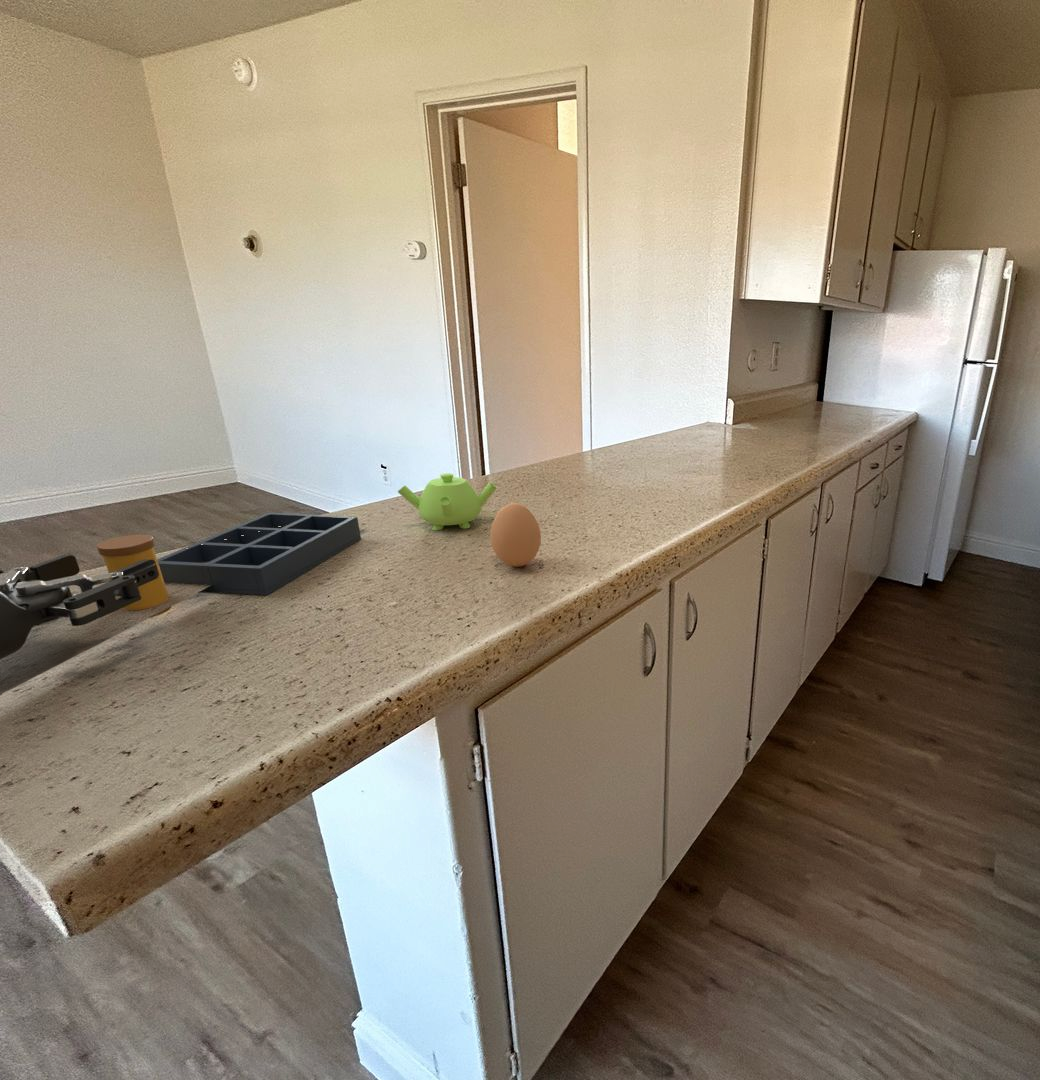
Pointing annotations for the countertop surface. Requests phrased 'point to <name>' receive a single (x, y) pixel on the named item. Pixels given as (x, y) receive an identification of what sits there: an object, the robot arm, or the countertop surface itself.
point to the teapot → (448, 501)
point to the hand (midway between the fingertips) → (113, 565)
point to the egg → (515, 535)
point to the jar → (128, 553)
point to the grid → (261, 552)
